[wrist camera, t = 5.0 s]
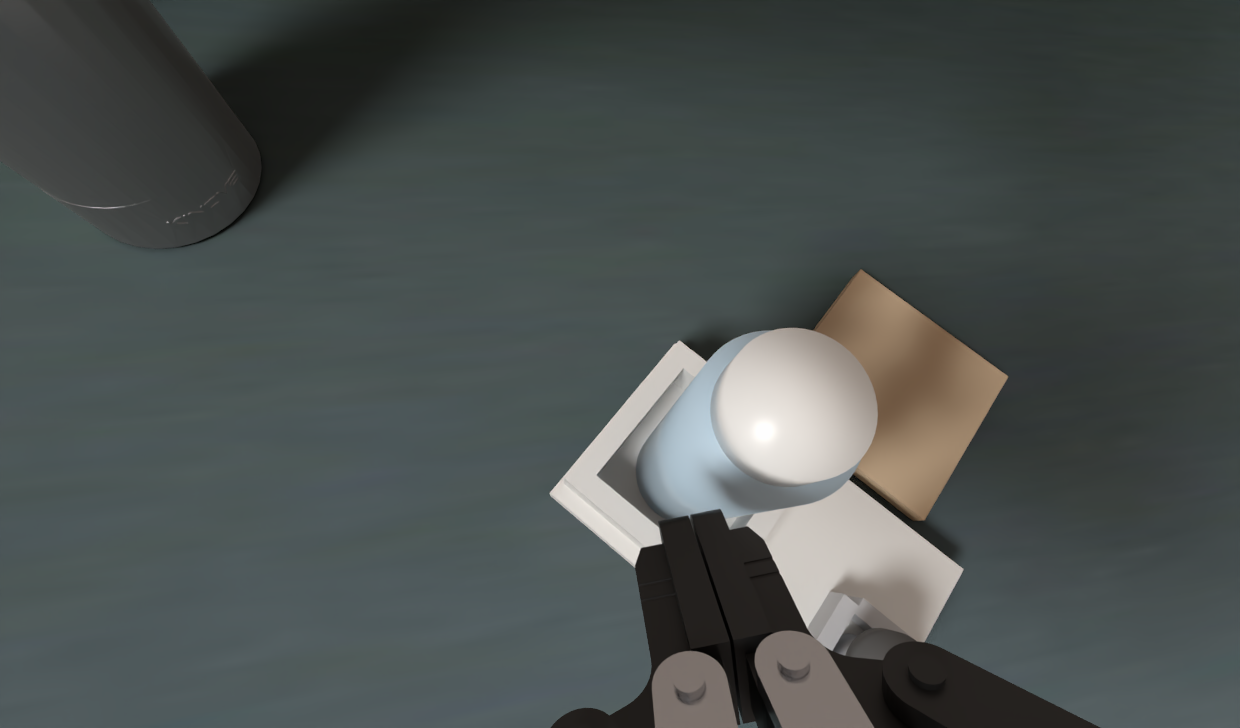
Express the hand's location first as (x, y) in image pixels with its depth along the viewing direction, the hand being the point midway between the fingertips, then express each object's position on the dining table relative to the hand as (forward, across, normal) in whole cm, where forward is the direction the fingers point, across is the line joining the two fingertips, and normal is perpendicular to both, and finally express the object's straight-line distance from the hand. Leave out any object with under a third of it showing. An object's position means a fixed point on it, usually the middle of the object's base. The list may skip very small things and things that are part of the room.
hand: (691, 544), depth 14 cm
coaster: (+17, -14, +7) cm, 23 cm away
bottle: (+13, -2, +7) cm, 15 cm away
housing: (+12, -4, +11) cm, 17 cm away
